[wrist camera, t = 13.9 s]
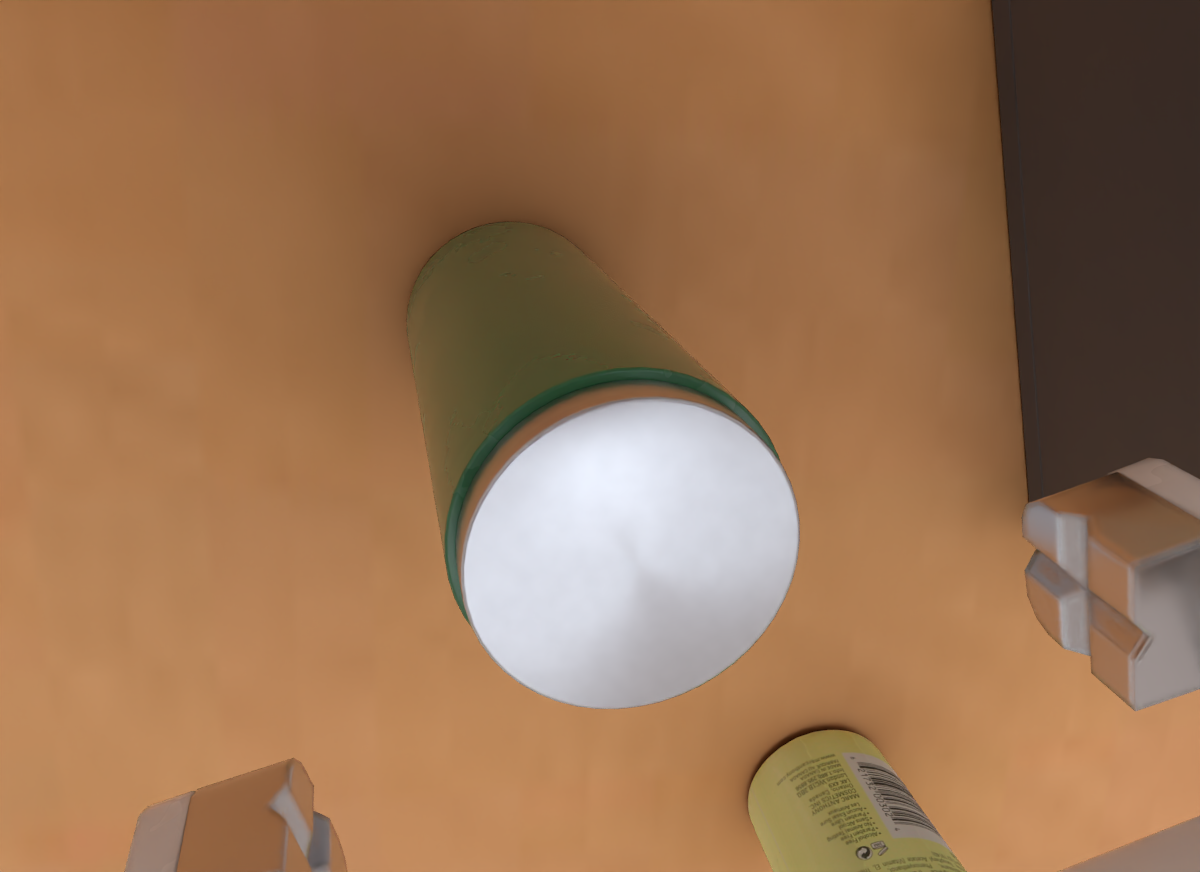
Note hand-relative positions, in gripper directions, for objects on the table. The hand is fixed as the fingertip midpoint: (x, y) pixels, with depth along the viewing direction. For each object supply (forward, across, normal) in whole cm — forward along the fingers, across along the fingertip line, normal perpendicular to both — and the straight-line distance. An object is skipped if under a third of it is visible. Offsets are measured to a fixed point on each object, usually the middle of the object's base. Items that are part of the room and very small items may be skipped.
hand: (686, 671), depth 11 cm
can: (+16, 0, +1) cm, 16 cm away
